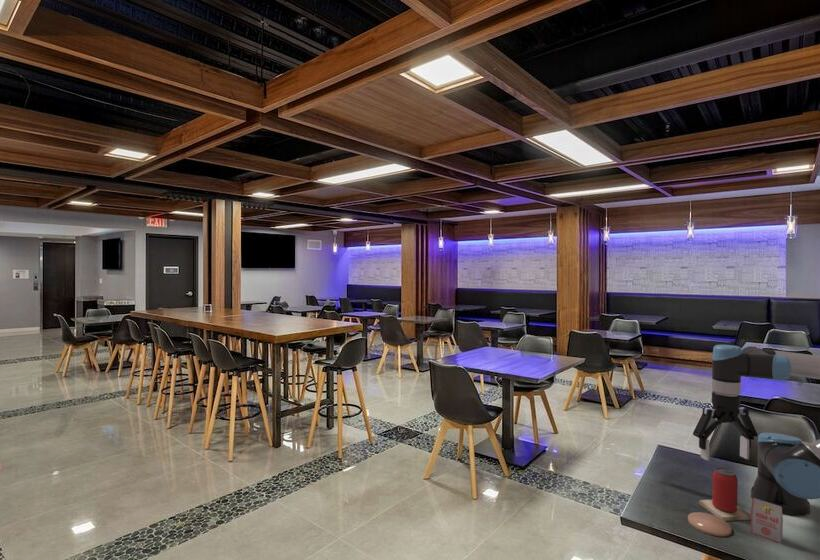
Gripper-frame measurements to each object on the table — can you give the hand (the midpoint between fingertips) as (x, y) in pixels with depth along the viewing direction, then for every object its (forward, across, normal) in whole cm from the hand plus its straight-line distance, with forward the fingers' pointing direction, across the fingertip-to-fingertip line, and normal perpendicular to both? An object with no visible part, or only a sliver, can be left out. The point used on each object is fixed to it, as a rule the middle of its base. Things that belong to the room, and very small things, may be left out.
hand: (724, 458), depth 140 cm
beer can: (+16, 0, 0) cm, 16 cm away
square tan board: (+17, 0, 0) cm, 17 cm away
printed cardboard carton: (+18, -2, +13) cm, 22 cm away
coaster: (+17, +11, +7) cm, 22 cm away
